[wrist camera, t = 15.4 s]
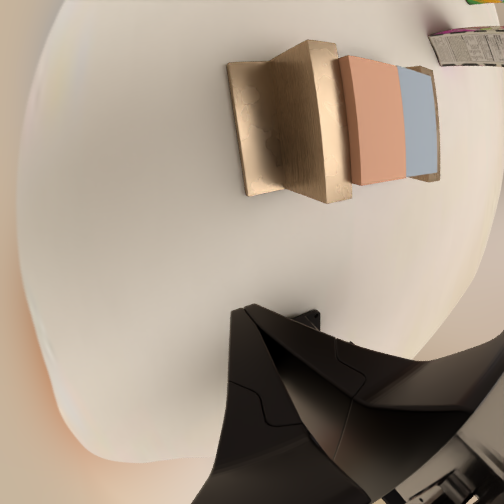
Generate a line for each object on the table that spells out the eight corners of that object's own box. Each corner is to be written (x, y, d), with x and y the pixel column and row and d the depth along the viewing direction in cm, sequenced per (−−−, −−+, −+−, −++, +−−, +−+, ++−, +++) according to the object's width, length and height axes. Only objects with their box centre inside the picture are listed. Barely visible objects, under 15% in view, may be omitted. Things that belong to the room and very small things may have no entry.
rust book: (345, 165, 22) (406, 178, 16) (302, 171, 21) (361, 185, 15) (335, 77, 19) (397, 66, 13) (290, 75, 18) (348, 55, 12)
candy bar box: (451, 27, 20) (538, 28, 6) (463, 55, 23) (548, 62, 8) (425, 33, 19) (534, 31, 5) (439, 67, 22) (547, 75, 8)
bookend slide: (304, 183, 21) (352, 198, 16) (245, 195, 20) (282, 214, 15) (288, 63, 17) (335, 43, 12) (226, 65, 16) (257, 36, 11)
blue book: (379, 160, 23) (437, 172, 17) (345, 164, 22) (406, 177, 16) (372, 81, 20) (430, 76, 14) (336, 77, 19) (397, 65, 13)
